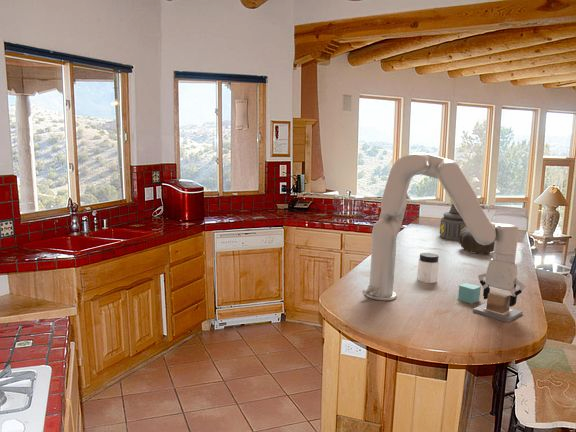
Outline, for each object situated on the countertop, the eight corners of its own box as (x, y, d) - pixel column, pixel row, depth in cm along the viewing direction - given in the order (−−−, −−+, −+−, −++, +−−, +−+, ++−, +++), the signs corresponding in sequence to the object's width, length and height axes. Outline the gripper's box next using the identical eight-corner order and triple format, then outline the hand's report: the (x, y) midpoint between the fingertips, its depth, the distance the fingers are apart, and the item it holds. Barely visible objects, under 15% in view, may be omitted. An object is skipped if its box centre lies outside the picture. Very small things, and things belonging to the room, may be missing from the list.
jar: (414, 280, 217) (416, 255, 215) (419, 276, 224) (421, 251, 222) (434, 284, 213) (437, 258, 211) (439, 280, 220) (441, 254, 218)
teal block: (472, 303, 190) (473, 289, 189) (457, 299, 194) (459, 285, 193) (479, 300, 194) (480, 286, 193) (465, 296, 198) (466, 282, 197)
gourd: (496, 243, 291) (498, 216, 285) (510, 260, 267) (512, 231, 262) (454, 245, 294) (454, 218, 288) (463, 262, 271) (464, 233, 265)
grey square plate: (507, 322, 171) (508, 318, 171) (472, 311, 181) (473, 308, 181) (522, 314, 180) (522, 310, 180) (488, 304, 190) (488, 301, 189)
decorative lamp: (433, 235, 324) (437, 190, 319) (456, 234, 329) (461, 190, 324) (450, 241, 306) (455, 194, 301) (475, 240, 312) (480, 194, 307)
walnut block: (502, 313, 176) (504, 297, 175) (486, 308, 180) (487, 293, 179) (509, 310, 180) (511, 294, 179) (493, 305, 184) (495, 290, 183)
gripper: (476, 254, 181) (472, 297, 183) (524, 264, 168) (518, 311, 171) (485, 251, 186) (481, 294, 188) (532, 261, 173) (526, 306, 176)
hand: (498, 302), depth 180 cm, fingers open, 9 cm apart
